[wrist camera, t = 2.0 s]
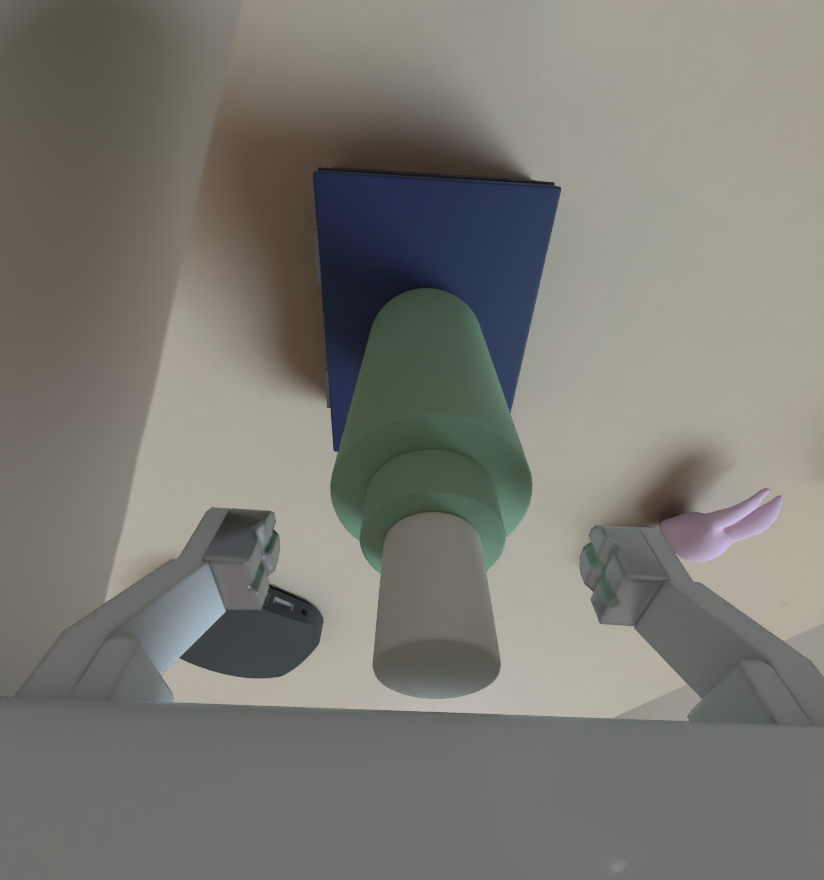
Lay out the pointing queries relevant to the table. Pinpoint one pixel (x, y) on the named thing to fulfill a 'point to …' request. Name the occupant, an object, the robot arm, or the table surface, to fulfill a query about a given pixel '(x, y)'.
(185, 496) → the table surface
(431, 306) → the bottle
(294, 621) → the media streaming box
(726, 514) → the pink toy figurine
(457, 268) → the case
